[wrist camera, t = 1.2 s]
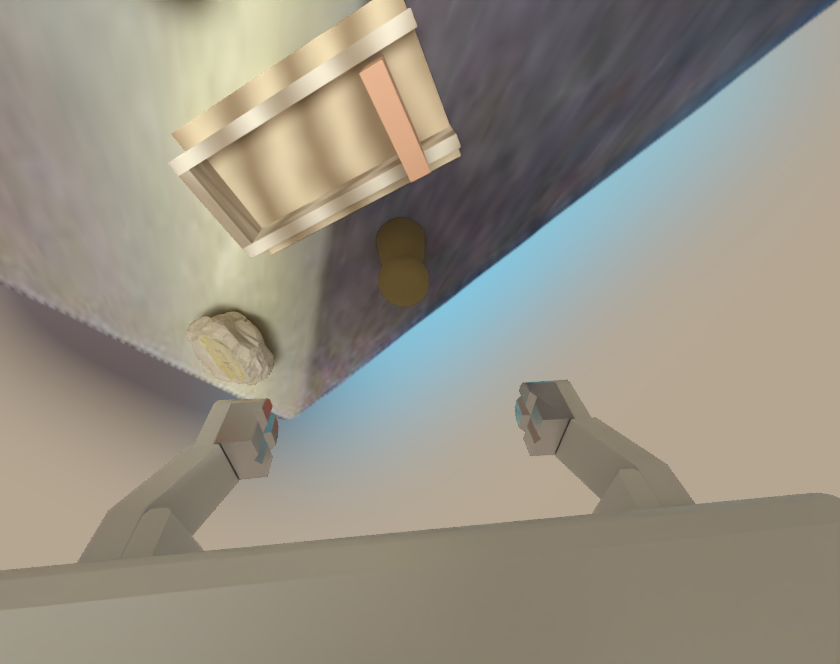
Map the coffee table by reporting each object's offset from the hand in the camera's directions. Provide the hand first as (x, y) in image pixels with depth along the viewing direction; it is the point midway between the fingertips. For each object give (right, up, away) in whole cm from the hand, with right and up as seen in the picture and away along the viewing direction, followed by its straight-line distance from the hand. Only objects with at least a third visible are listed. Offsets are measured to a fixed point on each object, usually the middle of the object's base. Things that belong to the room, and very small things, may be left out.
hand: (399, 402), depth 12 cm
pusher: (-2, +24, +21) cm, 32 cm away
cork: (-2, +13, +31) cm, 34 cm away
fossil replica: (-24, +2, +38) cm, 45 cm away
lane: (-9, +21, +24) cm, 33 cm away
